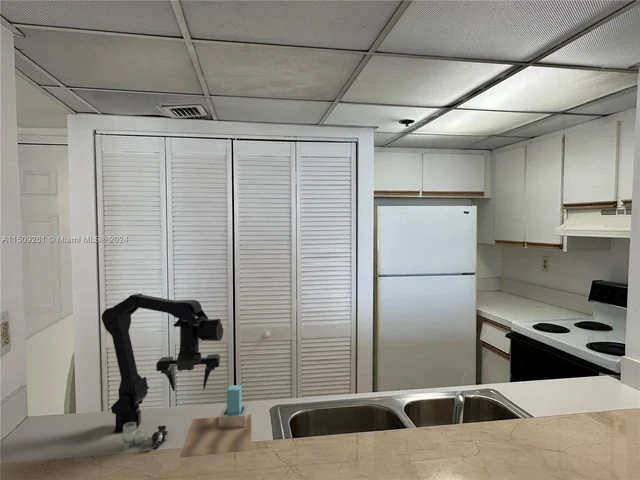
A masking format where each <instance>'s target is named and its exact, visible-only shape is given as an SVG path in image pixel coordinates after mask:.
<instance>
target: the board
mask: <svg viewBox="0 0 640 480" xmlns="http://www.w3.org/2000/svg"><path fill="white" fill-rule="evenodd" d="M246 451H252V413H249V417H248V419H247V422H246V425H245V427H236V428H219V416H215V417H214V416H213V417H212V416H211V417H203V418H193V420H192V422H191V425H190V428H189V431H188V433H187V436H186V439H185V442H184V445H183V447H182V450H181V452H180V456H179V458H187V457H198V456H206V455H207V456H208V455H216V454H225V453H226V454H227V453H228V454H229V453H235V452H246Z"/></svg>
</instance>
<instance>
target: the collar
mask: <svg viewBox="0 0 640 480" xmlns="http://www.w3.org/2000/svg"><path fill="white" fill-rule="evenodd" d="M249 414H250V405H249V404H246V405H245V404H244V405H243V404H242V414H241V415H227V405H224V406H223V407H222V409H221V411H220V413H219V415H218V417H219V428H236V427H245V425H246V422H247V419H248V417H249Z"/></svg>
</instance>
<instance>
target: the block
mask: <svg viewBox="0 0 640 480" xmlns="http://www.w3.org/2000/svg"><path fill="white" fill-rule="evenodd" d="M242 389H243V386H242V385H241V384H240V385H237V384H235V385H229V386H228V388H227V389H226V406H227V415H241V414H242V405H243V403H242V401H243V400H242V398H243V395H242V394H243V393H242V391H243V390H242Z"/></svg>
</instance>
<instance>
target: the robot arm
mask: <svg viewBox="0 0 640 480" xmlns="http://www.w3.org/2000/svg"><path fill="white" fill-rule="evenodd" d="M138 309H145V310H149V311H154V312H155V311H156V312H160V313H161V312H162V313H167V314H168V315H169V314H170V315H171V316H172V317H174V318H176V319H177V321H176V322H174V323H173V327H174V328H175V327H177V328H179V351H178V354H177V358H176V359H174V356H162V357H161V358H160V359H159V360H158V361H157V362H156V365H155V366H156V367H155V368H156V369H155V370H156V372H160V373H161V374H164V375H165V376H166V378H167V379H168V382H169V384H170V387H171V389H172V391H173V392H175V391H176V375H175V374H176V371H175V369H177V371H178V372H182V371H192V370H194V369H195V366H199V365H201V366H202V365H205V368H204V374H203V375H204V376H203V382H202V383H203V384H202V387H203V389H204V390H205V389H206V386H207V382H208V379H209V375H210V374H211V372H212V371H214V370H215V369H216V368H219V367H220V365H221V364H220V363H221V356H220V354H218V353H217V354H207V356H206V357H202V352H201V351H200V347H199V345H200V340H201V341H203V342H204V341H206V342H207V341H208V342H209V341H210V342H213V341H214V342H220V341H221V340H222V339H223V335H224V326H223V324H222V322H221V321H222V320H221V318H213V319H212V318H209V317H208V316H207V314H206V313H205V311H204V310H203V308H202V305H201V303H200V302H199V301H198V300H196V299H180V300H179V299H178V300H176V299H175V300H173V299H168V298H162V297H156V296H153V295H145V294H142V293H135V294H131V295H129V296H128V297H127V298H125V299H124V300H122V301H121V302H118V303H117V304H115V305H114V306H112V307H108V308H106V309H105V310H103V312H102V314H101V321H102V324H103V326H104V329H105V330H106V331H107V332H108V333H109V334H110V335H111V337H112V341H113V342H112V343H113V346H114V352H115V358H116V361H117V362H116V363H117V366H118V370H119V374H120V375H119V376H120V382H119V386H118V399H117V400H116V401H115V403H113V405H111V406H110V409H111V414H113V415H115V428H114V430H113V434H115V433H117V434H118V433H123V425H124V424H126V423H129V422H136V430H137V428H138V427H139V426H140V425H141V424H142V410H140V405H141V404H142V403H143V401H144V399H145V398H146V397H147V395H148V392H149V389H150V387H149V386H148V382H147V381H148V380H147V377H146V376H144V377H141V375H139V373H138V368H137V364H136V360H135V359H136V358H135V354H134V351H133V345H132V341H131V340H132V339H131V335H130V328H131V325H132V324H131V323H132V315H133V314H134V313H135V312H137V310H138ZM175 367H176V368H175Z"/></svg>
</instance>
